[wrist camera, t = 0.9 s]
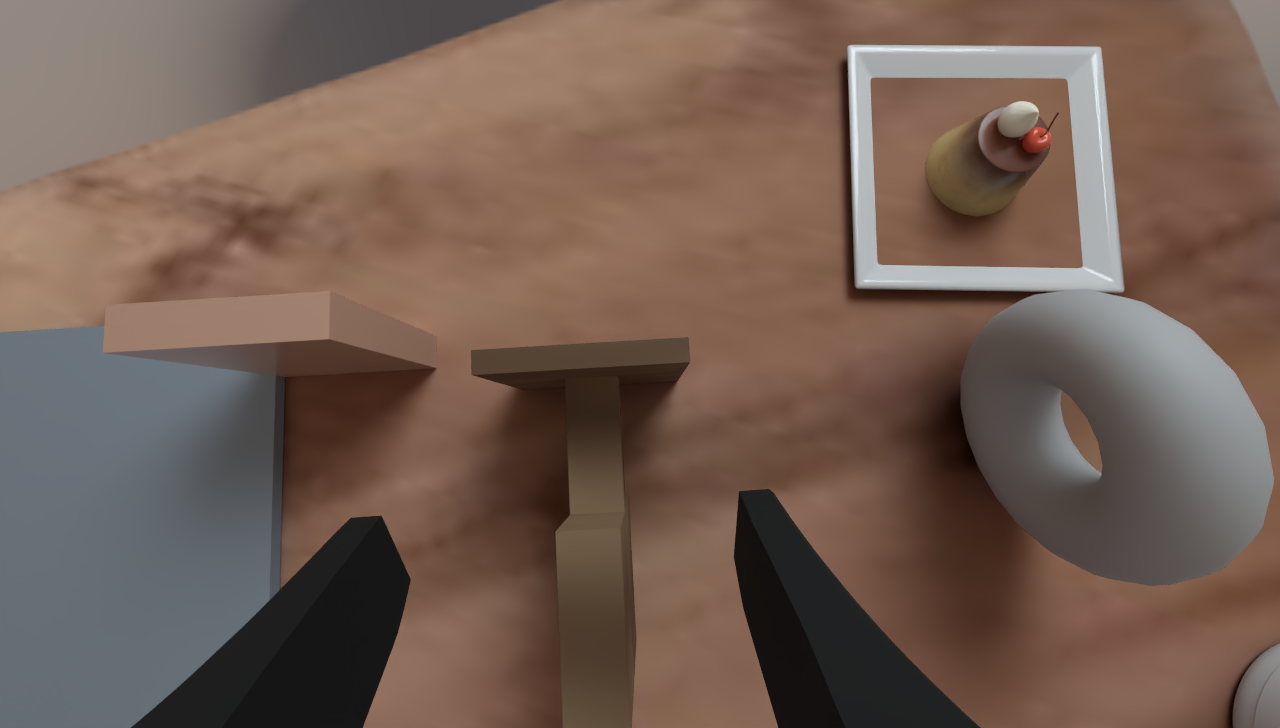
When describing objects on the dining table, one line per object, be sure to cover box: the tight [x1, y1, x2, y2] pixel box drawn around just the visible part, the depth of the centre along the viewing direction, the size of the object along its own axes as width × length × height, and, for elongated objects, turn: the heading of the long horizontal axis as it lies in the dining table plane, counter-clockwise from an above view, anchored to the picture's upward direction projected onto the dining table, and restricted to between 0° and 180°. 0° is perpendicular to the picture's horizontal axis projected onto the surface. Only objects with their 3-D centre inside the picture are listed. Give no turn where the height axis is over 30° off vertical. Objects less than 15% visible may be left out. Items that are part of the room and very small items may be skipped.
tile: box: [103, 291, 437, 377], centre depth 20 cm, size 2×7×8 cm, turn 94°
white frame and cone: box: [847, 45, 1125, 293], centre depth 22 cm, size 12×12×5 cm
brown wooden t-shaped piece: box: [471, 337, 690, 728], centre depth 19 cm, size 12×7×7 cm, turn 3°
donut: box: [960, 289, 1274, 586], centre depth 18 cm, size 10×4×10 cm, turn 12°
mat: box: [0, 326, 285, 728], centre depth 22 cm, size 26×13×1 cm, turn 3°
